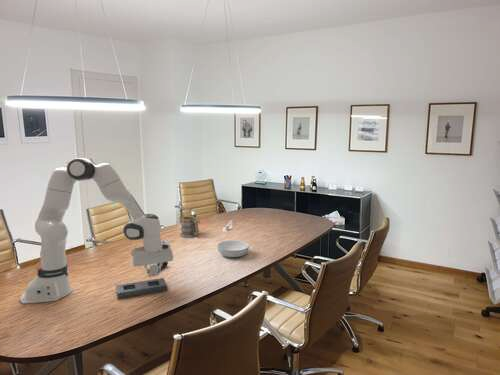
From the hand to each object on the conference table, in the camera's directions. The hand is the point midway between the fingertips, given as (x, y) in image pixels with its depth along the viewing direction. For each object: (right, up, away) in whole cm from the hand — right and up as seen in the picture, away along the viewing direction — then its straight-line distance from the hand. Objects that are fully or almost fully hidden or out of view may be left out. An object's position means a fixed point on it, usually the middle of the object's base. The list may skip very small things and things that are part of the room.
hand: (153, 271), depth 190 cm
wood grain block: (0, -2, 0) cm, 2 cm away
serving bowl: (+39, -1, +52) cm, 65 cm away
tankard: (+5, +5, +93) cm, 93 cm away
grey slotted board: (-6, -10, -1) cm, 11 cm away
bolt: (-5, -6, +26) cm, 27 cm away
